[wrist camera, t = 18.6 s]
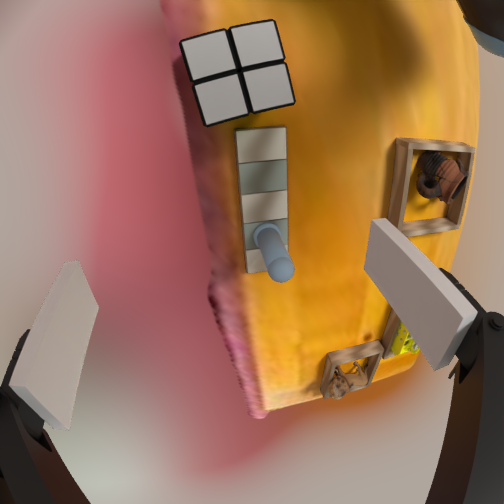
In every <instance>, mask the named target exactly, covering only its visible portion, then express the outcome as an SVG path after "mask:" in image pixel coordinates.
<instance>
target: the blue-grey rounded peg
mask: <svg viewBox="0 0 504 504" xmlns="http://www.w3.org/2000/svg"><path fill="white" fill-rule="evenodd" d="M281 238H282V234H281V231H280V229H279V227H278V226H277V225H276V224H274V223H271V222H265V223H262V224H260V225H258V226H257V227H256V228H255V230H254V232H253V239H254V242H255V244H256V245H257V246H258V247H259V248H260V251H261V253H262V256H263V259H264V262H265V265H266V268H267V271H268V273H269V276H270V277H271V278H272V279H273V280H274V281H276V282H280V283H282V282H286V281H288V280H290V279H291V278H292V276H293V274H294V270H295V268H294V264H293V262H292V260H291V258H290V256H289V254H288V251H287V249H286V247H285V245H284V243H283V241H282V239H281Z"/></svg>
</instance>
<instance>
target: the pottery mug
mask: <svg viewBox="0 0 504 504" xmlns="http://www.w3.org/2000/svg"><path fill="white" fill-rule="evenodd" d="M442 152H443V151H442V150H426V151H425V152H424V153H423V155H422V156H421V157H420V159H419V161H418V163H417V167H418V168H420V170H421V171H422V173H420V174H419V175H418V180H417V184H416V186H417V190H418V192H419V194H420V195H422V196H423V197H425V198H428V199H430V198H433V197H435V196H436V197H438V198H439V199H440V201H444V202H445V203H446V204H447V205H448V204H450V203H451V200H450V199H451V198H452V199H453V200H454V199H455V198H456V197H457V196H458V194H459V193H460V191H461V190H462V188H463V186H464V185H465V183H466V181H467V178H468V175H469V173H468V171H467V170H466V171H465V170H464V166H463V164H462V162H461V160H460V159H457V161H458V163H459V167H458V165H457V163H456V161H455V160H453V159H448V158H446V157H445V156H442V155H440V154H441V153H442ZM435 176H438V177H440V179H439V181H437V180H435Z"/></svg>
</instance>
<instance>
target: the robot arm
mask: <svg viewBox="0 0 504 504" xmlns="http://www.w3.org/2000/svg"><path fill="white" fill-rule="evenodd" d="M456 1H457V3H458V5H459V7H460V9H461V11H462V13H463V18H464V20H465V22H466V23H467V24H468V25H469V27H470V29H471V31H472V33H473V36H474V38H475V40H476V41H477V43H478V44H480V45H481V46H482V47H483V48H484V49H485V50H487V51H488V52H490V53H492V54H495V55H497V56H501V57H504V0H456ZM364 270H365V271H366V273H367V274H368V275H369V277H370V278H371V279H372V281H373V282H374V283H375V285H376V286H377V287H378V289H379V290H380V292H381V293H382V294H383V296H384V297H385V299H386V300H387V301H388V303H389V304H390V306H391V307H392V308H393V310H394V311H395V313H396V314H397V315H398V317H399V318H400V320H401V321H402V323H403V324H404V326H405V327H406V329H407V330H408V332H409V333H410V335H411V336H412V337H413V339H414V340H415V342H416V344H417V345H418V347H419V348H420V350H421V351H422V353H423V354H424V356H425V357H426V359H427V360H428V362H429V364H430V365H431V367H432V368H433V370H434V371H436V370H438V369H440V368H442V367H444V366H447V365H449V363H450V362H451V360H452V358H453V357H454V355H456V356H457V357H458V359H459V360H458V362H457V364H456V365H455V367H454V368H453V370H452V371H451V373H450V374H449V377H448V378H449V379H451V377H452V376H453V374H454V373H455V378H454V386H453V393H452V400H451V407H450V413H449V418H448V423H447V428H446V433H445V437H444V441H443V446H442V450H441V454H440V458H439V461H438V465H437V469H436V472H435V476H434V479H433V482H432V485H431V488H430V491H429V494H428V497H427V500H426V503H425V504H504V316H503V315H501V314H499V313H496V312H488V313H487V312H486V311H485V310H484V309H483V308H482V307H481V306H480V304H479V303H478V302H477V301H476V300H475V299H474V298H473V297H472V295H471V294H470V293H469V292H468V291H467V290H465V288H464V287H463V286H462V285H461V284H459V282H458V280H456V278H455V277H454V276H453V275H452V274H450V273H449V272H447V271H445V270H444V269H442V268H437V267H436V266H435V265H434V264H433V263H432V262H431V261H430V260H429V259H428V258H427V257H426V256H425V255H424V254H423V253H422V252H421V251H420V250H419V249H418V248H417V247H416V246H415V245H414V244H413V243H412V242H411V241H410V240H409V239H408V238H407V237H405V236H404V235H403V234H402V233H401V232H400V231H399V230H398V229H397V228H396V227H395V226H394V225H392V224H391V223H390V222H389V221H388V220H387V219H386V218H381V219H372V220H371V227H370V234H369V241H368V247H367V254H366V260H365V265H364ZM98 309H99V306H98V304H97V302H96V300H95V298H94V296H93V293H92V291H91V289H90V287H89V284H88V282H87V280H86V277H85V275H84V272H83V270H82V268H81V265H80V263H79V260H77V261H71V262H66V263H64V265H63V266H62V268H61V270H60V272H59V274H58V275H57V278H56V279H55V281H54V283H53V285H52V287H51V289H50V290H49V292H48V294H47V296H46V298H45V300H44V302H43V304H42V306H41V308H40V310H39V313H38V315H37V317H36V319H35V321H34V323H33V326H32V328H31V329H28V330H27V331H26V332H25V333H24V334H23V336H22V337H21V338H20V339H19V342H18V344H17V346H16V349H15V350H16V351H14V354H13V356H12V360H11V361H10V363H9V366H8V368H7V371H6V374H5V376H4V379H3V382H2V385H1V387H0V504H91V503H90V502H89V501H88V499H87V498H86V496H85V495H84V493H83V492H82V491H81V489H80V488H79V486H78V485H77V483H76V482H75V480H74V478H73V477H72V475H71V474H70V472H69V471H68V469H67V467H66V466H65V464H64V462H63V461H62V459H61V457H60V455H59V454H58V452H57V450H56V448H55V446H54V445H53V443H52V441H51V439H50V437H49V435H48V433H47V432H46V431H45V430H44V429H43V425H44V421H45V422H46V423H47V424H48V425H49V426H51V427H52V428H53V429H59V430H68V431H69V430H70V424H71V419H72V413H73V408H74V402H75V397H76V392H77V388H78V384H79V379H80V375H81V370H82V367H83V363H84V359H85V355H86V351H87V347H88V343H89V340H90V336H91V333H92V329H93V326H94V322H95V319H96V315H97V312H98Z"/></svg>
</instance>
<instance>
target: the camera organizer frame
mask: <svg viewBox="0 0 504 504" xmlns="http://www.w3.org/2000/svg"><path fill="white" fill-rule="evenodd" d="M400 323H401V320H400V318H399V317H398V315H397V314H396V313H395V311H394V310H393V308H392V309H391V312H390V316H389V319H388V322H387V325H386V328H385V331H384V334H383V337H382V340H381V345H382V346H383V348H384V352H383V354H382V358H383V359H386V358H389V357H393V356H396V355H394V353H393V351H392V349H391V346H392V344H393V341H394V339H395V336H396V333H397V331H398V328H399V325H400ZM417 348H418V347H417ZM409 351H410V350H409Z"/></svg>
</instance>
